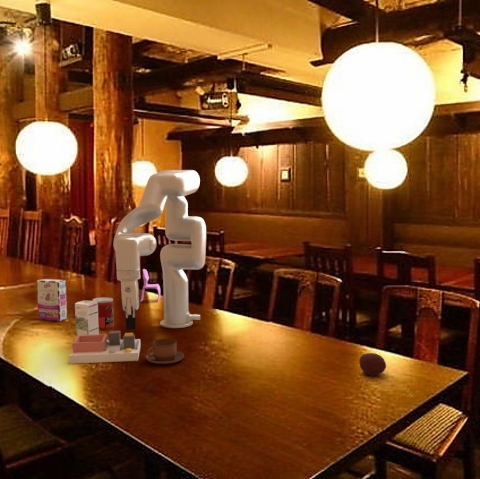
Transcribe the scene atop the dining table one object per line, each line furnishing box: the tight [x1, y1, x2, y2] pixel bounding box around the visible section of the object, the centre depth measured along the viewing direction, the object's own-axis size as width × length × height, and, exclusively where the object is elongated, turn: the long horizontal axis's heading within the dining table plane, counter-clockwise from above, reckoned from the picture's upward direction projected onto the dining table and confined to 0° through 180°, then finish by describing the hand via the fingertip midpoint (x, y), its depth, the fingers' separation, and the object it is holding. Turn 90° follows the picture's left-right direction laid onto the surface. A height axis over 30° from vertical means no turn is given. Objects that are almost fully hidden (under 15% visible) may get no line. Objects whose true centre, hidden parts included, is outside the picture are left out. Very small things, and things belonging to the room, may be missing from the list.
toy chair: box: [139, 268, 161, 303], centre depth 272 cm, size 8×9×15 cm
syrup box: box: [74, 300, 100, 338], centre depth 202 cm, size 6×6×14 cm
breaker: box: [108, 330, 122, 345], centre depth 191 cm, size 3×3×4 cm
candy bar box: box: [36, 278, 68, 323], centre depth 236 cm, size 11×5×16 cm, turn 68°
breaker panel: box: [68, 333, 141, 364], centre depth 188 cm, size 21×16×6 cm
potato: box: [358, 352, 387, 376], centre depth 168 cm, size 7×8×6 cm
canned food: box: [91, 296, 115, 331], centre depth 223 cm, size 8×8×11 cm
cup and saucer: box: [145, 338, 185, 365], centre depth 182 cm, size 12×12×6 cm
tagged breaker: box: [122, 332, 136, 349], centre depth 187 cm, size 3×3×5 cm
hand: (131, 328), depth 192 cm, fingers closed
